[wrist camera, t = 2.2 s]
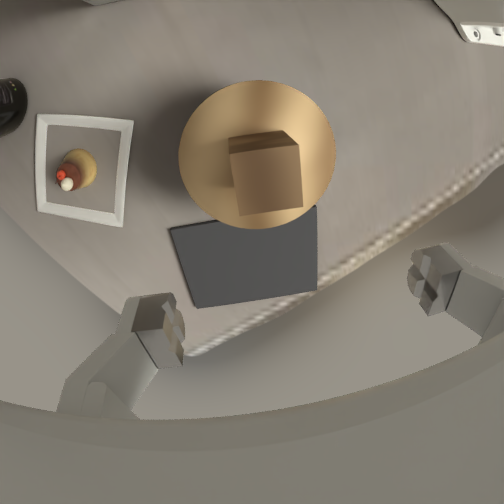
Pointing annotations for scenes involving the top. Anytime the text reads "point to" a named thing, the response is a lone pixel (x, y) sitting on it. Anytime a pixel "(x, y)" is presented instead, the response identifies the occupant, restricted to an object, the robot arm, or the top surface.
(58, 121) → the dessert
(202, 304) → the mat
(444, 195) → the top surface
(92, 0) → the coffee box
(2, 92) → the supplement bottle
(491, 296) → the robot arm
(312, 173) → the lid
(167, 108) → the top surface
